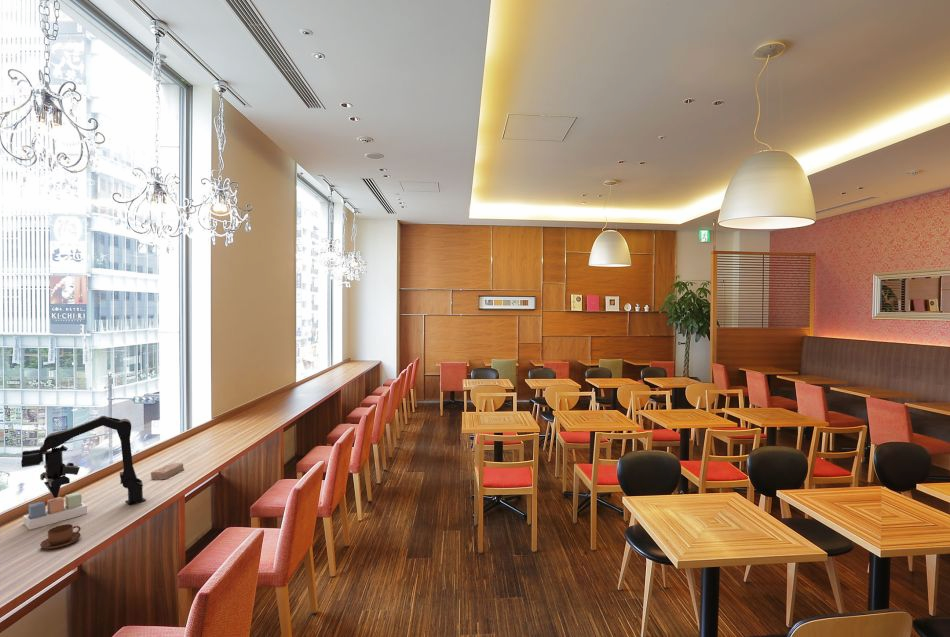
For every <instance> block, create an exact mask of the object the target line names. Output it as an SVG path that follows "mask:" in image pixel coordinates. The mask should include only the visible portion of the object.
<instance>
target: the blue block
mask: <svg viewBox="0 0 950 637" xmlns="http://www.w3.org/2000/svg"><path fill="white" fill-rule="evenodd" d="M27 508H28V509H27V510H28V515H29V519H30V520H31V519H34V518H38V517H42V516H45V515H46V511H45V510H46V503H45V502H44V501H38V502H34V503H30V504H28V507H27Z"/></svg>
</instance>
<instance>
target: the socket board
mask: <svg viewBox="0 0 950 637" xmlns="http://www.w3.org/2000/svg"><path fill="white" fill-rule="evenodd" d="M45 511H46V515H45V516H42V517H38V518H34V519H31V520H30V519H29V514H24V515H23V525H24V526H25V527H26V528H27V529H28V530H34V529H37V528H40V527H44V526H47V525H51V524H55V523H58V522H62V521H65V520H68V519H72V518H76V517H79V516H83V515H87V514H88V505H86V504H85V503H84V502H82V506H78V507H74V508H71V509H67V508H66V504H64V511H60V512H56V513H53V514H49V513H48V508H47V509H45Z"/></svg>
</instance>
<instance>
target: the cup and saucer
mask: <svg viewBox="0 0 950 637" xmlns="http://www.w3.org/2000/svg"><path fill="white" fill-rule="evenodd" d="M76 528H77V529H78V530H76V531H73V530H75V529H76ZM81 529H82V528H81V526H79V525H75V526H73V524H68V523H67V524H61V525H57V526H55V527H51V528H49V530H47V538H46V539H44V540H42V541H41V542H40V543H39V546H40V547H41V548H42V549H46V550H49V549H50V550H51V549H52V550H53V549H59V548H62V547H66V546H68V545H70V544H74V543H75V542H76V541H77V540H79V538H81V533H80V532H81Z"/></svg>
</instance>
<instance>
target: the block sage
mask: <svg viewBox="0 0 950 637" xmlns="http://www.w3.org/2000/svg"><path fill="white" fill-rule="evenodd" d="M64 496H65V499H64V502H65V505H66V508H67V509H71V508H74V507H78V506H82V503H83V501H82V494H81V493H80V492H79V491H78V492H73V493H70V494H65V495H64Z"/></svg>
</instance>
